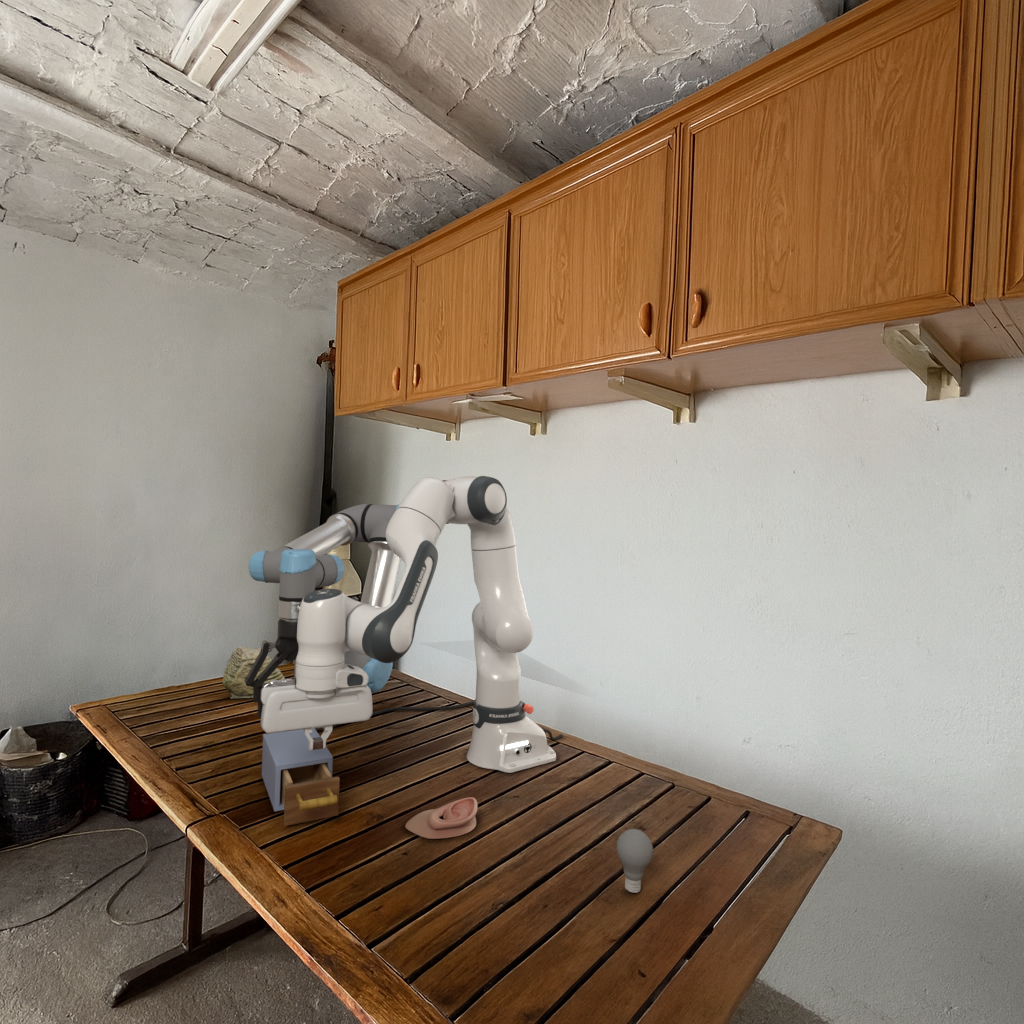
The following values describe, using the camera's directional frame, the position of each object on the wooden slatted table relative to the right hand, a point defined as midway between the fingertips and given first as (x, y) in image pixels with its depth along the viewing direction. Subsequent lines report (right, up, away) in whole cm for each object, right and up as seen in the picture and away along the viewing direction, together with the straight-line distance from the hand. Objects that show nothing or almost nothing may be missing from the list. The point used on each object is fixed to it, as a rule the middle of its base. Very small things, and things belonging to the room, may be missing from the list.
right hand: (316, 748), depth 120 cm
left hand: (-12, 0, +23) cm, 26 cm away
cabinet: (-10, -15, +17) cm, 25 cm away
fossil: (-44, -12, +78) cm, 90 cm away
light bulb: (+57, -19, -14) cm, 62 cm away
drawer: (-4, -14, +7) cm, 17 cm away
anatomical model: (+23, -17, +4) cm, 29 cm away
